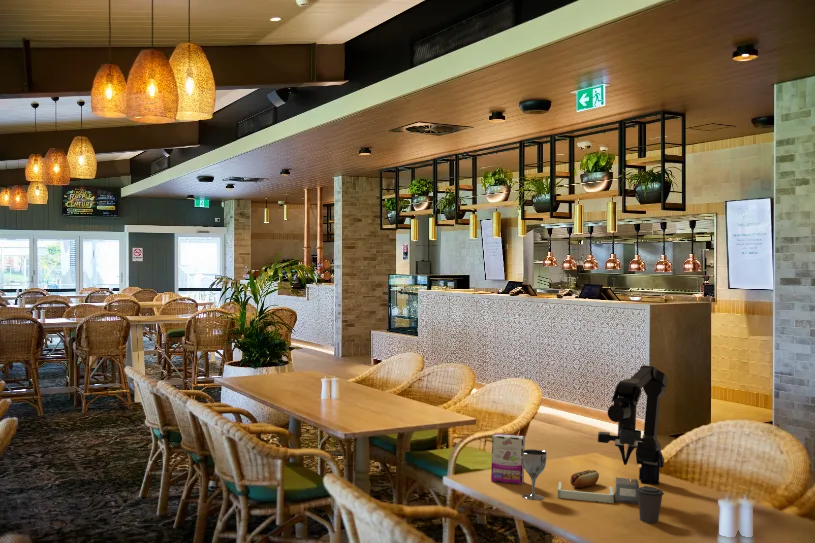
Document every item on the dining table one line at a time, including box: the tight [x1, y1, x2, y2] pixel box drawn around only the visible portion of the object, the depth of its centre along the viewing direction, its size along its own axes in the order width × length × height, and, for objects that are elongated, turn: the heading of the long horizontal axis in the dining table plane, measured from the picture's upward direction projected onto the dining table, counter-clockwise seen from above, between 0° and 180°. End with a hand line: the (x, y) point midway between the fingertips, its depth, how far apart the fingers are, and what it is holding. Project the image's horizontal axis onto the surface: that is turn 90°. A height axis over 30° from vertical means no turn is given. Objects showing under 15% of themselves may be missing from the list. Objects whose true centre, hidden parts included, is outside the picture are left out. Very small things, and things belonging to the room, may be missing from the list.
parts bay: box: [557, 481, 615, 504], centre depth 263 cm, size 18×11×2 cm, turn 77°
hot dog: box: [570, 469, 600, 489], centre depth 275 cm, size 5×13×5 cm, turn 131°
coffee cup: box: [637, 485, 665, 524], centre depth 238 cm, size 8×8×10 cm
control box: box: [613, 477, 640, 505], centre depth 260 cm, size 8×9×6 cm
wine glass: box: [521, 448, 548, 501], centre depth 259 cm, size 8×8×15 cm
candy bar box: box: [490, 433, 526, 485], centre depth 277 cm, size 11×5×16 cm, turn 73°
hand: (625, 464), depth 265 cm, fingers closed
